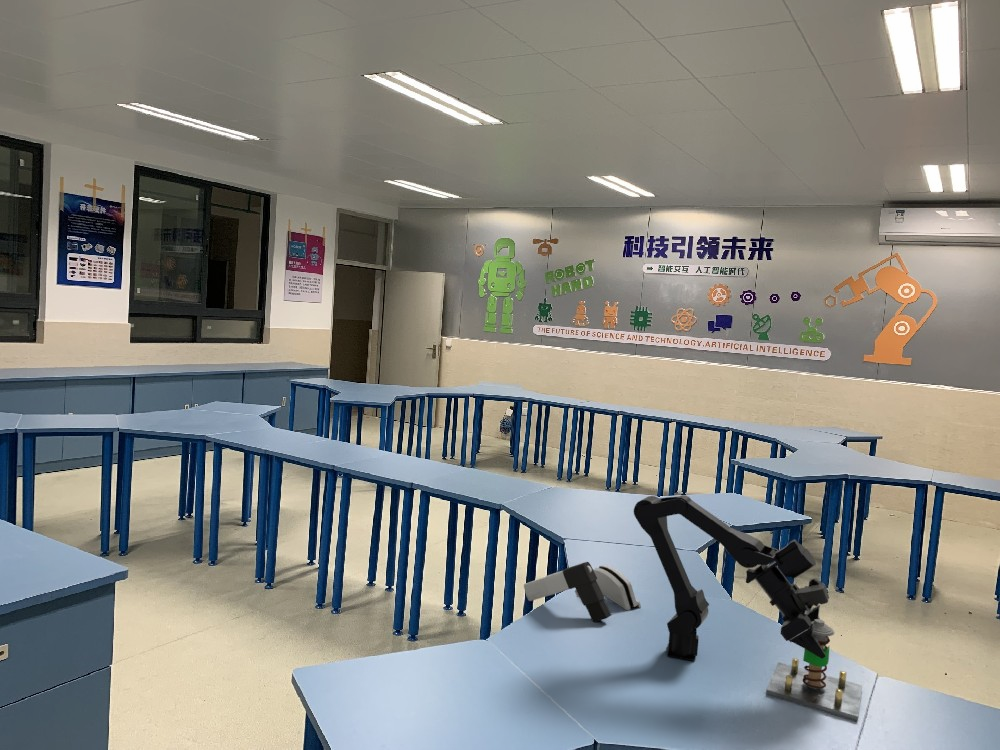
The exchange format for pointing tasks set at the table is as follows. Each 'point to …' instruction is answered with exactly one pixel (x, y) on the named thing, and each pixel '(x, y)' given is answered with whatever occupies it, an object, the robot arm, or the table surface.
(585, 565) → the handheld device
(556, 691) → the table surface
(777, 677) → the plate
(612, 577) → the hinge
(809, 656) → the shock absorber
